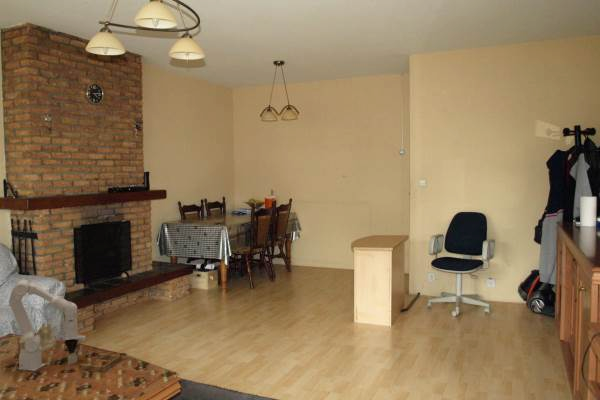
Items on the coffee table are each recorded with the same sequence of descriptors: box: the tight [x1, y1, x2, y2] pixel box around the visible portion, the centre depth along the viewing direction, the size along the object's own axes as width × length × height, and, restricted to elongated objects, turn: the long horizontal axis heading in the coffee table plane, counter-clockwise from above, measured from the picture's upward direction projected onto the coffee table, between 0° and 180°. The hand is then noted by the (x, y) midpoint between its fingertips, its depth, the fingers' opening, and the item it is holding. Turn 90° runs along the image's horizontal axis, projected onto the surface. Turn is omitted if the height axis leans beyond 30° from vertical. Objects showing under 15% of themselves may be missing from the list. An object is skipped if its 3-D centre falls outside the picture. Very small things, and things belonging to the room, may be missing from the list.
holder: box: [78, 352, 123, 373], centre depth 238 cm, size 14×15×2 cm
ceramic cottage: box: [19, 322, 57, 352], centre depth 262 cm, size 16×16×15 cm
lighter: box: [67, 345, 84, 366], centre depth 241 cm, size 7×2×8 cm, turn 144°
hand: (71, 353), depth 241 cm, fingers closed
